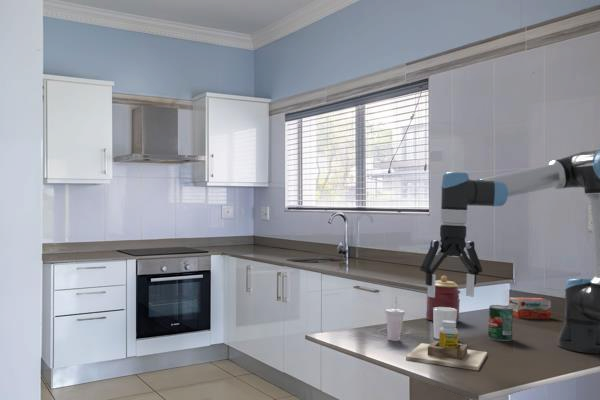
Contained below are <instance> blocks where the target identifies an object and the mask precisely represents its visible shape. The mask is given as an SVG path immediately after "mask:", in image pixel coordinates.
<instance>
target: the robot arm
mask: <svg viewBox="0 0 600 400" xmlns="http://www.w3.org/2000/svg"><path fill="white" fill-rule="evenodd" d="M440 187H441V199H440V201H441V204H440V205H441V207H440V223H442V224H441V225H440V227H439V237H440V241H439V240H435V239H433V240H430V246H429V249H428V251H427V253H426V255H425V257H424V260H423V262H422V264H421V266H420V269H419V270H420V272H422V273H424V274H425V285H426V286H427V289H428V291H427V295H426V297H428V296H429V297H432V298H435V280H436V278H437V277H436V274H434V273H435V272H436V271H437V269H438V268H439V266H441V264H442V262H443V261H444V260H445V259H446V258H448V257H458V258H459V260H460V261H461V262H462V263H463V265H464V267H465V268H466V269H467V271H468V273H466V282H465V283H466V284H465V285H466V289H465V296H466V297H472V298H473V297H474V296H475V286H476V284H477V276H478V275H479V274H480V273H482V272H483V267H482V264H481V262H480V260H479V257H478V254H477V251H476V249H475V241H472V240H467V241H466V238H467V226H466V224H468V207H469V206H476V207H502V206H504V205H505V204H506V203H507V200H508V198H511V197H515V196H518V195H524V194H528V193H533V192H538V191H542V190H543V191H544V190H547V189H552V188H553V189H556V190H562V189H567V188H584V195H585V196H586V197H588V198H589V200H590V210H591V211H590V213H591V228H592V244H593V246H592V247H593V260H594V277H593V278H568V279H567V280H566V283H565V289H564V292H565V298H564V321H563V325H562V328H561V329H560V330H561V331H560V332H559V336H558V337H557V346H558V347H559V348H562V349H565V350H569V351H573V352H579V353H585V354H600V149H595V150H589V151H582V152H578V153H574V154H572V155H569V156H566V157H562V158H557V159H556V160H555V159H554V160H551V161H550V162H549V163H548V164H546V165H542V166H536V167H532V168H527V169H523V170H516V171H513V172H507V173H503V174H497V175H494V176H489V177H484V178H479V179H474V180H473V179H470V178H469V174H468V173H467V172H461V171H460V172H459V171H448V172H445V173H443V175H442V180H441V186H440ZM439 248H440V250H439ZM438 250H439V251H438Z"/></svg>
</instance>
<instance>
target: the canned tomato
mask: <svg viewBox="0 0 600 400" xmlns="http://www.w3.org/2000/svg"><path fill="white" fill-rule="evenodd" d="M488 308H489V310H488V331H487V338H488V339H490V340H493V341H499V342H500V341H501V342H510V341H512V340H513V338H512V337H513V336H512V335H513V320H514V319H513V318H514V317H513V307H509V305H501V304H492V305H489V307H488Z"/></svg>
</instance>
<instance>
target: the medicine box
mask: <svg viewBox="0 0 600 400" xmlns="http://www.w3.org/2000/svg"><path fill="white" fill-rule="evenodd" d="M508 306H509V307H513V318H516V319H528V320H530V319H532V320H551V317H552V315H551V314H552V301H551V300H548V299H545V298H541V297H509V303H508Z"/></svg>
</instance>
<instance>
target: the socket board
mask: <svg viewBox="0 0 600 400" xmlns="http://www.w3.org/2000/svg"><path fill="white" fill-rule="evenodd" d="M487 355H488V352H487V351H482V350H475V349H469V348H468V344H464V343H458V349H451V348H443V347H439V340H437V339H436V340H433V341H432V342H431V343H421V342H420V344H419V345H417V346H416V347H415V348H413V349H412V351H410V353H408V354H407V355H406V356H405V360H406V361H412V362H419V363H425V364H432V365H433V364H434V365H437V366H445V367H452V368H460V369H465V370H471V371H479V370H480V368H481V366H482V364H483V363H484V361H485V359H486V357H487Z"/></svg>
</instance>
